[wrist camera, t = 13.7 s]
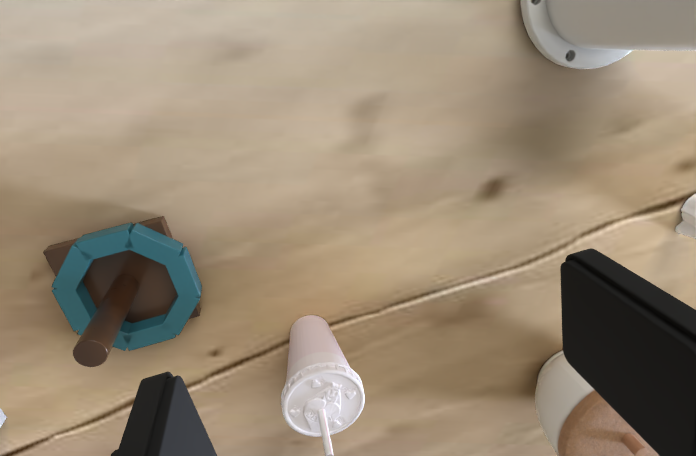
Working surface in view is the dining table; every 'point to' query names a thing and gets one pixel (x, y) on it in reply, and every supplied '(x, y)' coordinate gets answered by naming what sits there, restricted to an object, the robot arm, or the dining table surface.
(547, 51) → the robot arm
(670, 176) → the dining table surface
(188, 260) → the ring
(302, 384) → the smoothie
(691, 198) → the white twin peak shape
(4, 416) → the white milk carton
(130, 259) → the brown peg stand
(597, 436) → the lidded bowl
